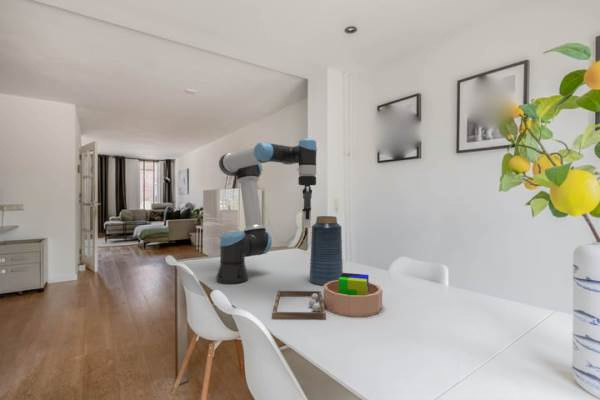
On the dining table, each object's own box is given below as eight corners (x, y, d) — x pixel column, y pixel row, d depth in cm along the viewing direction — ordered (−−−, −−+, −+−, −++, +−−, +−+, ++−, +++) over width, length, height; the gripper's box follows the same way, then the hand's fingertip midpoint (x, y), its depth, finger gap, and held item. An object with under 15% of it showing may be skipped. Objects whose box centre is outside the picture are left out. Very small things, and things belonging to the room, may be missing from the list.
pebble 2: (310, 304, 113) (306, 302, 111) (315, 298, 113) (311, 296, 111) (314, 310, 111) (310, 308, 109) (319, 304, 111) (315, 301, 109)
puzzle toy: (368, 300, 116) (368, 274, 116) (366, 309, 106) (366, 281, 106) (342, 297, 119) (342, 272, 119) (338, 306, 109) (338, 279, 109)
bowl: (322, 296, 124) (322, 279, 124) (373, 296, 124) (373, 279, 124) (326, 316, 102) (326, 296, 102) (388, 317, 102) (388, 296, 102)
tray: (277, 295, 124) (277, 290, 124) (321, 295, 124) (321, 291, 124) (272, 318, 100) (272, 313, 100) (325, 319, 100) (325, 313, 100)
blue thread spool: (348, 280, 148) (348, 216, 148) (333, 288, 135) (334, 218, 135) (319, 275, 157) (319, 215, 157) (303, 282, 143) (303, 216, 143)
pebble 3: (312, 309, 108) (312, 301, 108) (320, 309, 108) (320, 301, 108) (312, 313, 106) (312, 304, 105) (320, 313, 105) (320, 304, 105)
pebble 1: (311, 299, 120) (311, 292, 119) (318, 299, 119) (318, 292, 119) (311, 302, 116) (311, 294, 116) (319, 302, 116) (319, 294, 116)
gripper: (298, 177, 139) (298, 223, 139) (298, 173, 114) (297, 228, 114) (314, 178, 139) (314, 223, 139) (317, 173, 114) (317, 229, 114)
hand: (306, 226), depth 127 cm, fingers open, 13 cm apart
